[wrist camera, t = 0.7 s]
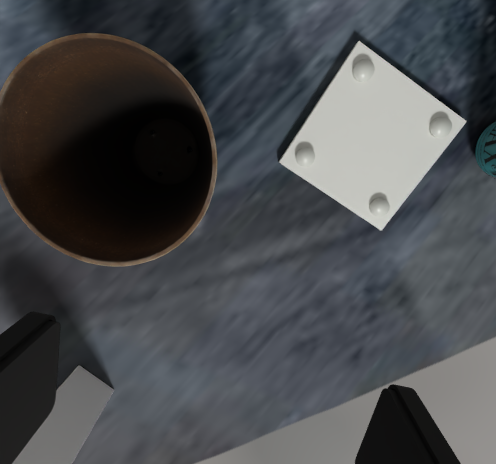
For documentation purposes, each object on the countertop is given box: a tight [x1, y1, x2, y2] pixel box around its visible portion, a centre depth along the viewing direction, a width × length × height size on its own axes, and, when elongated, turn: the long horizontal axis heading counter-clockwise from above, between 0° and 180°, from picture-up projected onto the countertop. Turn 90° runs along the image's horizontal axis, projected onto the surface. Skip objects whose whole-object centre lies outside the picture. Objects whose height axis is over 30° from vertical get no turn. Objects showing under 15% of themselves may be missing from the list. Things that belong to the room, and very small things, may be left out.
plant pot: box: [0, 33, 217, 266], centre depth 29 cm, size 15×15×16 cm
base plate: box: [279, 41, 467, 230], centre depth 35 cm, size 14×14×2 cm
